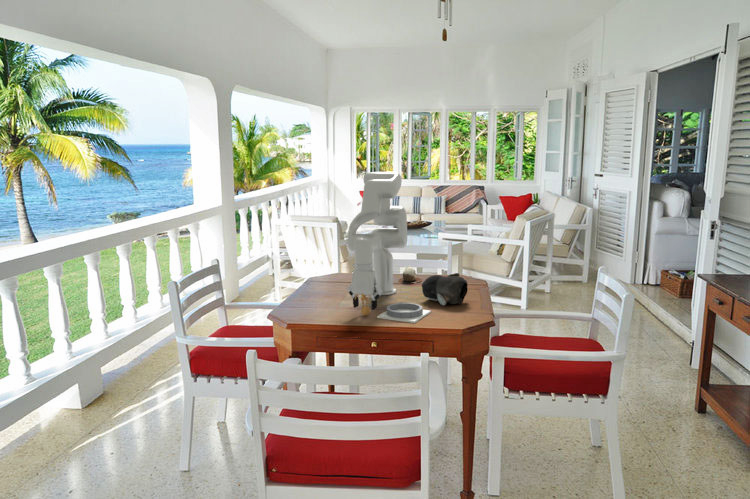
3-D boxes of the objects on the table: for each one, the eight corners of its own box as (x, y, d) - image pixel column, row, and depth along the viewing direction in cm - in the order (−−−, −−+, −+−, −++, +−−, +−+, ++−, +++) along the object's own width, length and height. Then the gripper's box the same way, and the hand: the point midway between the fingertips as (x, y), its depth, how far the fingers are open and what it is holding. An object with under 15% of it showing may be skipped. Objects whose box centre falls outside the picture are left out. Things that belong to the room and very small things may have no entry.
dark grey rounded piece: (459, 319, 251) (457, 296, 244) (415, 312, 260) (411, 289, 252) (471, 291, 265) (470, 268, 258) (429, 285, 274) (426, 262, 266)
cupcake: (400, 275, 310) (413, 262, 307) (414, 289, 309) (426, 276, 305) (393, 280, 299) (406, 266, 296) (407, 294, 298) (420, 280, 294)
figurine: (376, 314, 242) (375, 286, 240) (373, 318, 236) (372, 290, 234) (356, 313, 243) (355, 286, 241) (354, 318, 237) (352, 290, 235)
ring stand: (377, 317, 237) (377, 310, 236) (395, 307, 252) (395, 300, 251) (414, 323, 229) (414, 315, 229) (431, 312, 244) (431, 304, 243)
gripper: (341, 267, 236) (342, 307, 240) (378, 270, 228) (379, 312, 232) (350, 263, 243) (351, 303, 246) (387, 267, 235) (387, 308, 238)
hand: (365, 307), depth 239 cm, fingers closed on figurine, 8 cm apart
